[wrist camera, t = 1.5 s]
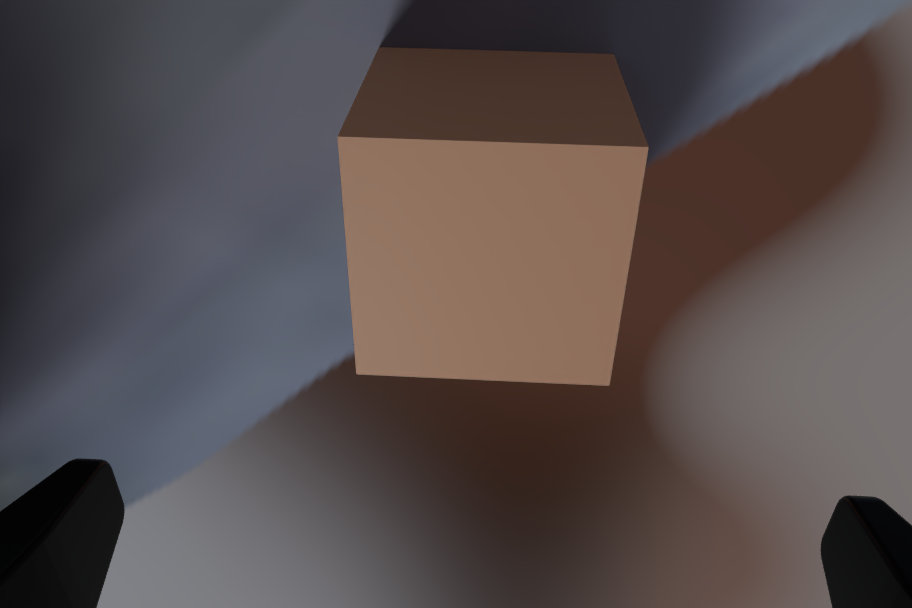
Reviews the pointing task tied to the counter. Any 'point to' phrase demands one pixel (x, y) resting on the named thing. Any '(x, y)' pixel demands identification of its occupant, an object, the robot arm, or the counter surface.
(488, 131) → the tan cube
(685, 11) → the counter surface
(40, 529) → the robot arm
